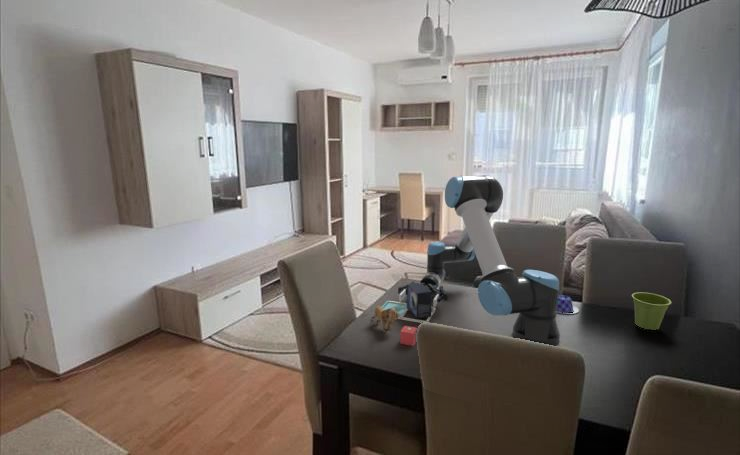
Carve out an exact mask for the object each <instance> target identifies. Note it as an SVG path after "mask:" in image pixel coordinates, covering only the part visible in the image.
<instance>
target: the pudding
mask: <svg viewBox="0 0 740 455" xmlns="http://www.w3.org/2000/svg"><path fill="white" fill-rule="evenodd" d="M573 311H574V312H573ZM579 311H580V310H579V308H578V307H577V306H575V305H573V299H572V298H571V297H570V296H568V295H561V294H558V303H557V313H559V314H562V315H563V314H564V315H565V314H566V315H572V314H577V313H579ZM562 312H563V313H562ZM566 312H567V313H566ZM568 312H573V313H568Z"/></svg>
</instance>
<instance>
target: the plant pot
mask: <svg viewBox="0 0 740 455" xmlns="http://www.w3.org/2000/svg"><path fill="white" fill-rule="evenodd" d="M631 297H632V298H633V300H632V301H633V306H634V307H633V308H634V325H635V324H636V325H637V326H639V327H641V328H644V329H643V330H646V329H651V330H656V329H658V330H659V329H660V327H661V325H662V324H661V323H662V322H663V319H664V316H665V313H666V312H667V310H668V308H669V306H670V305H672V301H671V299H669V298H667V297H665V296H663V295H661V294H660V295H659V294H656V293H651V292H644V291H643V292H641V291H640V292H639V291H638V292H634V293H632V294H631ZM636 325H635V326H636ZM637 326H636V327H637ZM639 327H638V328H639ZM641 328H640V329H641Z"/></svg>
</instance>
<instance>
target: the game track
mask: <svg viewBox="0 0 740 455" xmlns="http://www.w3.org/2000/svg"><path fill="white" fill-rule="evenodd" d="M381 307H382V308H383V310H387V309H390V308H394V309H395V311H396V312H397V313H399V314H400V315H399V317H398V319H397V320H402V321H408V322H412V323H413V322H415V323H420V324H423V323H422V322H428V323H429V322H430V320H431V318H432V317H433V315H434V313H435V312H436V307H433V306H431V317H427V318H426V320H422V319H418V318H416V319H415V318H409V317H406V316H405V315H406V314H407V313H408V311H409V310H408V309H407V302H402V301H401V302H400V301H393V300H386V301H385V302H384V304H383V305H382V306H381Z"/></svg>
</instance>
